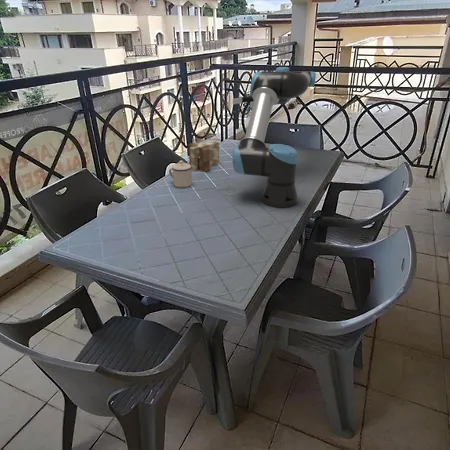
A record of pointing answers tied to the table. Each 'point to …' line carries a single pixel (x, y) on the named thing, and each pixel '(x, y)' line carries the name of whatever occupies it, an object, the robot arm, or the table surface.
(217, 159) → the birch board
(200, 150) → the brown wooden u block
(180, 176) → the teacup with lid
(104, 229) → the table surface
